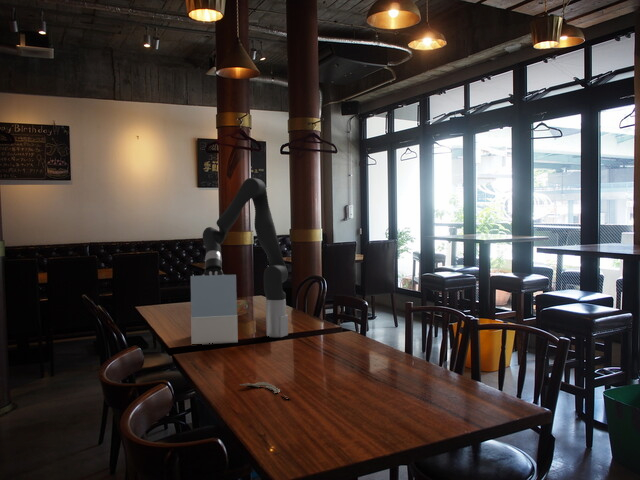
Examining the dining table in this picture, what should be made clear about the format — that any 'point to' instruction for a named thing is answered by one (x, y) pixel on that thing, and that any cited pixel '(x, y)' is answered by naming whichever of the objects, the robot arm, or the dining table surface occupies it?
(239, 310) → the tin
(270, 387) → the jawbone
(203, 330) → the carton
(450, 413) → the dining table surface
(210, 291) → the lid flap
